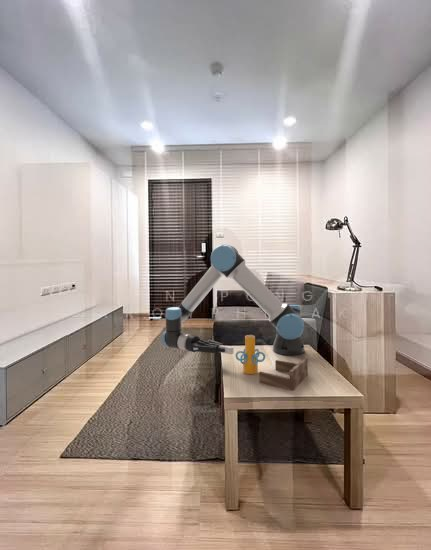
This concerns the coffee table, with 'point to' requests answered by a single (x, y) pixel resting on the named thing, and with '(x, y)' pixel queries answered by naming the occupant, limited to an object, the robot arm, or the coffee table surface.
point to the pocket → (295, 377)
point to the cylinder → (250, 356)
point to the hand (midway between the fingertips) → (232, 350)
